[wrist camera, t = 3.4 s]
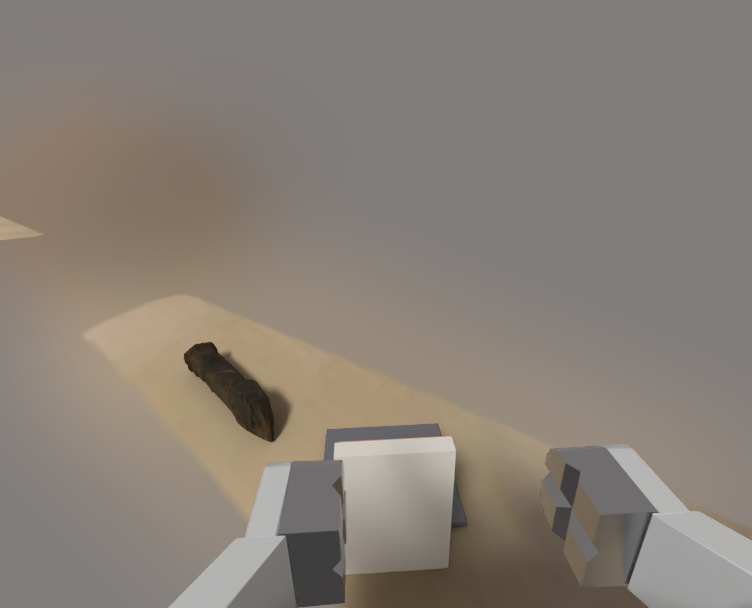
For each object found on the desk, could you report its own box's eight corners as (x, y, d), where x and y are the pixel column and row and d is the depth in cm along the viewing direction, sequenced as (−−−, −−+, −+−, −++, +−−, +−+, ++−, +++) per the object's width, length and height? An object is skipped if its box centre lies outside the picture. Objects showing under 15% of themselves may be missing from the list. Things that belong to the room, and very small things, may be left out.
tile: (443, 546, 28) (450, 433, 24) (448, 568, 26) (456, 450, 23) (344, 553, 27) (334, 439, 24) (343, 574, 26) (333, 457, 22)
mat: (437, 426, 39) (437, 423, 39) (466, 525, 29) (466, 521, 29) (327, 432, 39) (326, 429, 39) (317, 534, 29) (316, 530, 29)
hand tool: (187, 374, 50) (179, 342, 48) (219, 363, 52) (212, 332, 50) (245, 460, 36) (237, 419, 34) (285, 440, 39) (279, 400, 37)
